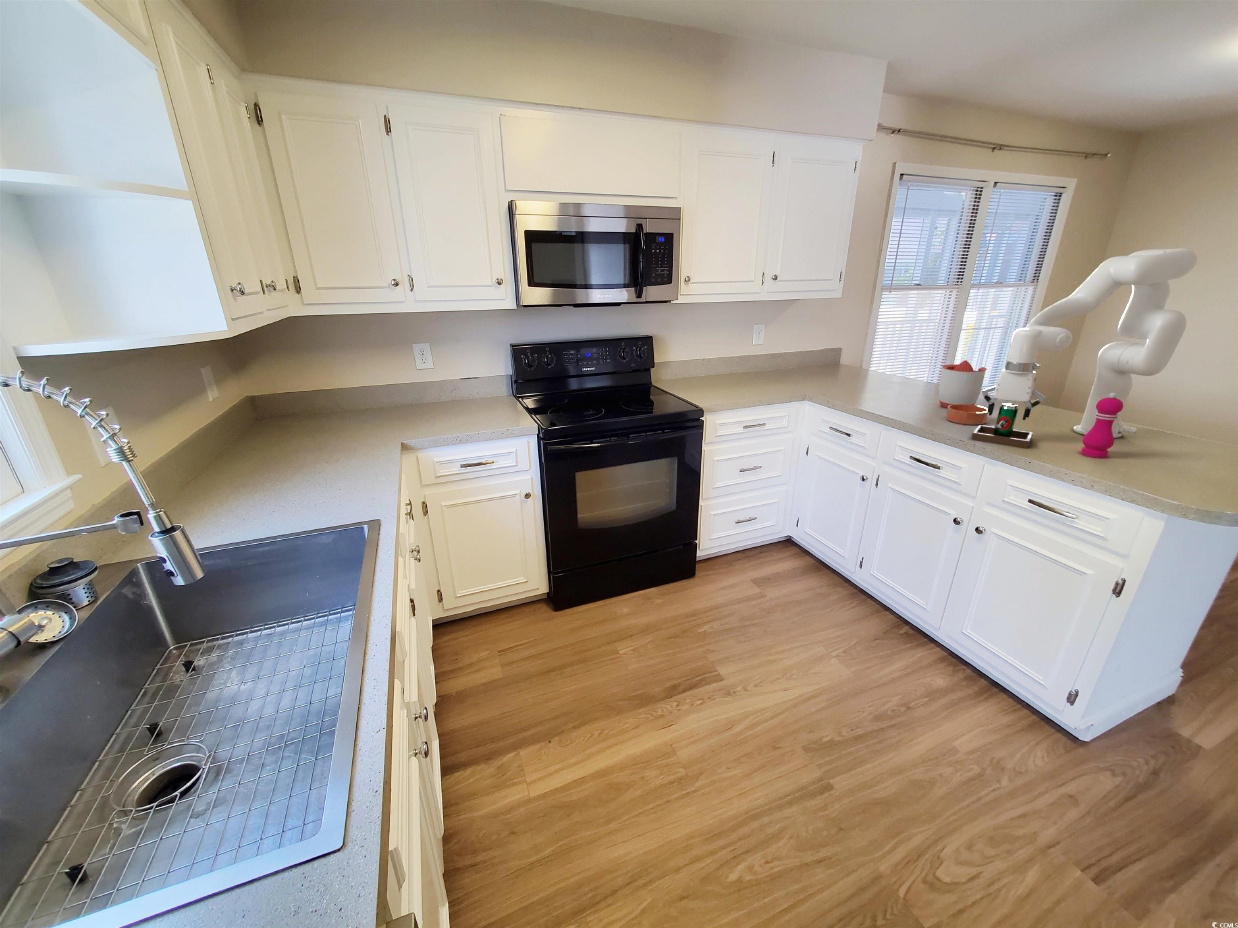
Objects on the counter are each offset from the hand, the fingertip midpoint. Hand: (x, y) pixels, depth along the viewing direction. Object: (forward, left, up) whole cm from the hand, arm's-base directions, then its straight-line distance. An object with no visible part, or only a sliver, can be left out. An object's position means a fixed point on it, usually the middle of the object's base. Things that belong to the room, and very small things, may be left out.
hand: (1006, 416), depth 169 cm
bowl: (+14, -19, -8) cm, 25 cm away
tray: (0, 0, -8) cm, 8 cm away
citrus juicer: (+21, -41, -8) cm, 47 cm away
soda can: (0, 0, -8) cm, 8 cm away
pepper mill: (-24, +1, -8) cm, 25 cm away
